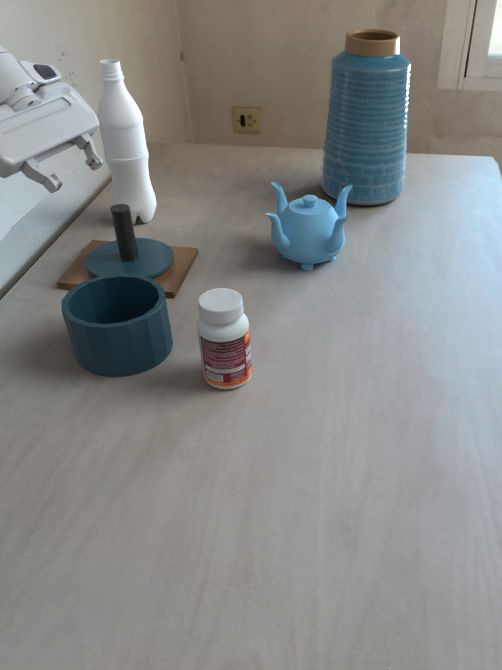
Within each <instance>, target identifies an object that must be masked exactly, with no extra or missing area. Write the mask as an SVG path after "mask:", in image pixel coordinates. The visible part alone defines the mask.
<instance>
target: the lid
mask: <svg viewBox="0 0 502 670" xmlns="http://www.w3.org/2000/svg"><path fill="white" fill-rule="evenodd" d="M109 211H110V216H111V220H112V225H113V230H114V234H115V240H110V241H111V242H108V243H105V244H103V245H100V246H98V247H97V248H95V249H94V250H92V251H91V252H90V253H89V254H88V256H87V257H86V260H85V265H86V269H87V271H88V272H89V273H90V274H91V275H92V276H94V277H95V278H96V277H99V276H104V275H113V274H135V275H141V276H144V277H147V278H150V279H151V278H153V277H156V276H158V275H160V274H162V273H164V272H165V271H166V270H168V269H169V268H170V267H171V265H172V264H173V261H174V254H173V251H172V249H171V248H170V247H169V246H170V245H168V244H166V243H165V242H162V241H160V240H158V239H153V238H148V237H136V233H135V228H134V224H133V222H132V217H131V212H130V207H129V206H128V205H126V204H116V205H114V204H113V205H111V206H110V208H109Z"/></svg>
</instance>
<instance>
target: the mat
mask: <svg viewBox="0 0 502 670" xmlns="http://www.w3.org/2000/svg"><path fill="white" fill-rule="evenodd" d="M111 241H112V240H103V239H102V240H100V239H91V241H89V243H88V244H87V245H86V246H85V248H84V249H83V250H82V251H81V253H79V255H78V256H77V257H76V258H75V260H74V261H73V262H72V263H71V264H70V265H69V266H68V268H67V269H66V270H65V272H64V273H63V274H62V275H61V277H60V278H59V279H58V280H57V282H56V285H57V288H58V289H64V290H70V289H72V288H74V287H75V286H77V285H79V284H80V283H82V282H84V281H87V280H90V279H93V278H95V277H94V276H92V275H91V274H90V273H89V272H88V271H87V269H86V265H85V260H86V257H87V256H88V254H89V253H90V252H91V251H92V250H94V249H95V248H97V247H98V246H100V245H103V244H105V243H108V242H111ZM168 246H169V247H170V248H171V249H172V251H173V254H174V261H173V264H172V265H171V267H170V268H169V269H168V270H166V271H165V272H164V273H162V274H160V275H158V276H156V277H153V278H151V279H153V280H155V281H156V282H157V283H158V284H159V285H161V286H162V287H163V288H164V293H165V298H167V299H175V298H176V296H177V294H178V293H179V291H180V288H181V287H182V285H183V283H184V282H185V280H186V278H187V276H188V274H189V272H190V270H191V269H192V268H193V265H194V264H195V261H196V259H197V258H198V256H199V254H200V253H199V248H198V247H189V246H177V245H168Z"/></svg>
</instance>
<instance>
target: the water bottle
mask: <svg viewBox="0 0 502 670" xmlns="http://www.w3.org/2000/svg"><path fill="white" fill-rule="evenodd" d="M99 68H100V75H101V76H100V80H101V81H102V91H101V96H100V99H99V102H98V107H97V111H96V115H97V117H98V121H99V127H98V130H99V134H100V138H101V142H102V148H103V156H104V160H105V163H106V165H107V167H108V171H109V172H110V178H111V181H112V200H113V205H116V204H126V205H128V206H129V207H130V212H131V217H132V222H133V225H135V224H136V223H137V217H139V218H140V220H141V221H142V223H145V224H146V223H149V222H151V221H152V219H153V217H154V215H155V213H156V210H157V199H156V193H155V191H154V189H153V185H152V183H151V177H150V171H149V156H150V153H149V149H148V146H147V140H146V135H145V128H144V123H143V122H144V118H143V114H142V111H141V110H140V108H139V106H138V105H137V103H136V101H135V100H134V98H133V97H132V96H131V94H130V92H129V91H128V89H127V86H126V84H125V82H124V80H125V76H124V74H123V71H122V67H121V61H120V59H116V58H104V59H100V60H99Z"/></svg>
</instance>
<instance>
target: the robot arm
mask: <svg viewBox="0 0 502 670" xmlns="http://www.w3.org/2000/svg"><path fill="white" fill-rule="evenodd" d="M62 78H63V77H62V73H61V72H60V71H59V69H58V68H57V67H56V66H55V65H53V64H50V63H38V62H33V61H32V62H31V61H26V60H23V59H17V58H16V57H15V56H14V54H13V53H12V52H11V51H9V50H8V49H7V48H5V47H4V46H3V45H1V44H0V178H1V179H7V178H9V177H11V176H13V175H15V174H18V173H20V172H21V173H23V175H24V176H25V177H26V178H27V179H29V180H32V181H34V182H36V183H37V184H39V185H42V186H43V187H44V188H45V189H46V190H47V191H48V192H49V193H50V194H54V193H56V192H57V191H59V190H60V189H61V188H62V186H63V182H62V180H60V179H59V178H58V176H57V175H56V174H55V173H51V174H49V173H48V172H46V171H44V170H43V169H41V168H39V163H41V162H42V161H45V160H47V159H50V158H51V157H53V156H55V155H57V154H60V153H62V152H63V151H66V150H67V149H70V148H72V147H74V146H76V147H77V148H78V149H79V150H80V151H83V152H84V154H85V157H86V160H85V161H84V163H85V164H86V165H87V166H88V167H89V168H90V170H91V171H96V170H98V169H100V168H101V167H102V166H103V165H104V160H103V158H102V157H101V156H100V154H99V153H98V152H97V148H96V145H95V143H94V139H93V138H92V137H93V135H94V134H95V133H96V131H97V130H98V129H99V121H98V117H97V113H96V112H95V111H94V110H93V108H92V107H91V106H90V105H89V103H87V101H86V100H85V98H83V97H82V96H81V95H80V94H79V92H78V91H77V90H76V89H75V88H74V87H73V86H71V85H70V84H69V83H67V82H64V81H61V79H62Z"/></svg>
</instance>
